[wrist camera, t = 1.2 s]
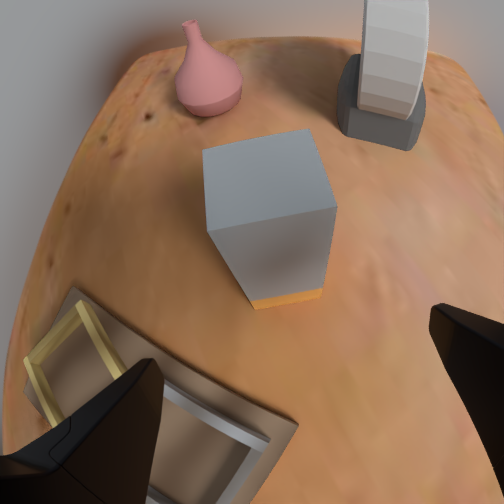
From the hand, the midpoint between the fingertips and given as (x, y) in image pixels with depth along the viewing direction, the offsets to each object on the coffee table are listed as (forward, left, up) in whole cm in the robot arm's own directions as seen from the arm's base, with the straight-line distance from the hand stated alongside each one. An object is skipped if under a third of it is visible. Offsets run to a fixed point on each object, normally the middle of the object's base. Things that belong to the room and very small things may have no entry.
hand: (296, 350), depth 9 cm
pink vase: (+20, -22, -13) cm, 32 cm away
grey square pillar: (+4, -6, -13) cm, 15 cm away
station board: (+10, +10, -13) cm, 19 cm away
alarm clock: (+2, -29, -13) cm, 32 cm away
